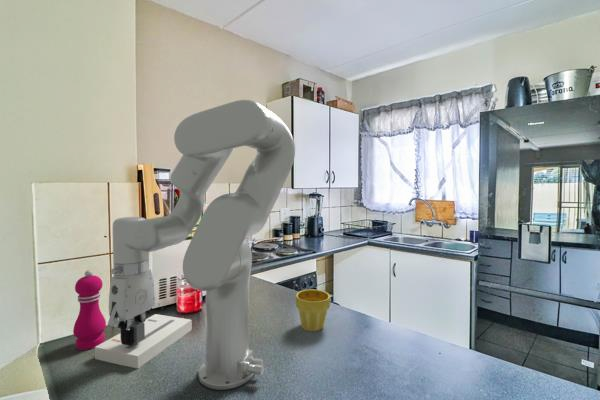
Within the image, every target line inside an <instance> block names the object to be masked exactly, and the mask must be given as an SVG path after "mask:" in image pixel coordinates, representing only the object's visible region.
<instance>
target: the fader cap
mask: <svg viewBox="0 0 600 400" xmlns="http://www.w3.org/2000/svg"><path fill="white" fill-rule="evenodd" d="M124 322H125V323H126V321H124ZM131 329H133V335H134V344H135V343H138V342H140V341H142V340H143V339H145V326H144V323H142V322H136V321H134V320H132V321H131ZM119 330H120V333H121V329H119ZM120 333H119V334H120Z"/></svg>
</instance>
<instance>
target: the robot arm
mask: <svg viewBox="0 0 600 400" xmlns="http://www.w3.org/2000/svg"><path fill="white" fill-rule="evenodd" d="M173 140H174V145H175V147H176V149H177V151H178V152H180V154H182V156H181V157H180V159H179V161H178V163H177V164H176V166H175V168H174V169H173V171H172V172H171V174H170V177H169V178H170V182H171V184H172V185H173V186H174V187H175V189H177V190H178V191H179V197H178V201H177V203H176V205H175V206H174V208H173V209H172V211H171V213H170V214H169V215H165V216H160V217H159V216H158V217H153V218H152V217H151V218H145V217H141V216H140V217H139V216H126V217H119V218H116V219H115V220H114V221H113V222H112V254H113V255H112V258H113V259H112V261H113V262H112V264H113V267H112V268H111V269H110V273H111V275H112V276H111V280H110V287H109V295H108V314H109V319H108V322H107V326H108V327H113V328H118V330H120V329H121V343H122V344H124V345H129V346H132V345H133V344H134V335H133V329H131V321H136V322H142V323H143V322H145V320H146V319H147V318H146V317H147V315H148V313H149V311H150V310H151V309H153V307H154V306H155V305H156V296H155V295H156V291H155V283H154V277H153V274H152V270H151V269H149V265H150V264H149V263H150V262H149V253H150V252H156V251H160V250H162V249H165V248H167V247H172V246H176V245H179V244H181V243H182V242H184V241H185V240H186V239H187V238H188V236H190V234H191V233H192V231H193V229H195V227H196V229H195V230H194V231H195V232H194V233H193V234H192V235H193V236H192V238H191V239H190V242H189V244H188V246H187V249H186V251H185V253H184V257H183V261H182V274H183V277H184V279H185V281H186V283H187V284H188V285H189V286H190V287H191V288H192V289H195V290H197V291H200V292H205V307H204V308H205V361H204V362H203V363H202V364H201V365H200V367H199V369H198V380H199V382H200V383H201V384H202V385H203V386H205V387H207V389H208V388H209V389H212V390H217V391H218V390H219V391H223V390H225V391H226V390H231V389H235V388H239V387H240V386H242V385H245V384H246V383H247V382H249V381H250V380H251V379H252V378H253V376H254V375H258V376H261V377H262V376H263V374H264V372H265V366H264V360H263V359H260V358H255V357H254V354H253V353H254V351H253V349H250V348H249V347H250V346H249V343H250V342H249V325H250V324H249V321H250V320H249V318H250V317H249V315H250V313H249V310H250V309H249V308H250V307H249V304H250V303H249V301H250V300H249V299H250V280H251V279H250V278H251V274H252V273H251V272H252V264H253V254H252V249H251V246H250V244H249V243H248V241H247V240H246V239H248V238H250V237H252V236H254V235H256V234H257V233H259V232H261V230H262V229H263V228H264V227H265V224H266V223H267V220H268V218H269V217H270V213H271V211H272V210H273V208H274V206H275V204H276V202H277V200H278V197H279V195H280V193H281V190H282V189H283V187H284V185H285V182H286V181H287V178H288V176H289V174H290V172H291V170H292V167H293V165H294V161H295V157H296V156H295V155H296V145H295V140H294V136H293V135H292V133H291V131H290V129H289V127H288V126H287V125H286V124H285V122H284V121H283V120H282V119H281V118H280V117H279V116H277V114H276V113H274V112H273V111H271V110H269V109H268V108H266V107H265V106H264V105H262V104H261V103H259V102H257V101H254V100H251V99H239V100H234V101H231V102H228V103H225V104H221V105H218V106H216V107H212V108H208V109H205V110H202V111H199V112H196V113H192V114H191V115H189V116H187V117H185V118H184V119H183V120H182V121H180V123H179V124H178V125H177V127H176V128H175V130H174V136H173ZM244 146H246V147H249V148H250V149H255V150H256V155H255V157H254V159H253V160H252V161H251V163H250V164H249V165H248V167H247V169H246V171H245V173H244V175H243V178H242V179H241V182H240V184H239V185H238V186H237V188H236V191H234V192H230V193H225V194H224V193H223V194H222V195H219V196H217V197H216V198H214V199H213V200H212V201H211V202H210V203H209V204H208V205H207V207H206V209H205V210H204V206H205V195H206V193H207V192H208V190H209V189H210V187H211V185H212V184H213V183H214V181H215V179H216V178H217V176H218V174H219V172H220V171H221V170H222V168H223V166H224V165H225V163H226V162H227V160H228V159H229V157H230V155H231V154H232V152H233V150H234V149H236V148H239V147H244ZM202 213H203V214H202ZM197 224H198V225H197ZM196 225H197V226H196ZM132 319H133V320H132ZM125 322H126V323H125Z"/></svg>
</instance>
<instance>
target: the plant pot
mask: <svg viewBox="0 0 600 400" xmlns="http://www.w3.org/2000/svg"><path fill="white" fill-rule="evenodd" d="M330 305H331V295H330V293H329V292H327V291H325V290H321V289H304V290H299V291H298V292H297V293H296V295H295V307H296V308H297V310H298V314H299V321H300V324H301V327H302V329H303V328H304V329H303V330H305V331H307V330H309V331H308V332H318V331H317V330H319V331H321V330H322V329H323V328H324V325H325V321H326V316H327V312H328V310H329V309H330ZM320 329H321V330H320Z"/></svg>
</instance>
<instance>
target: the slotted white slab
mask: <svg viewBox="0 0 600 400" xmlns="http://www.w3.org/2000/svg"><path fill="white" fill-rule="evenodd" d="M143 323H144V326H145V339H143V340H142V341H140V342H138V343H135V344H133V345H132V346H129V345H124V344H122V343H121V333H118V334H116V335H114V336H113V337H111V338H109V339H107V340H104V342H103V343H101V344H100V345H98V346H96V347H95V348H94V358H95V360H97V361H102V362H106V363H111V364H115V365H116V364H117V365H120V366H125V367H128V368H129V367H130V368H133V369H140V368H141V367H142V366H144V365H145V364H147V363H148V362H149V361H151V360H152V359H154V358H155V357H156V356H158V355H159V354H160V353H162V352H163V351H165V350H166V349H168V348H169V347H170V346H171V345H173V344H174V343H175V342H177V341H178V340H180V339H182V338H183V337H184V336H185V335H187V334H188V333H189V332H191V331H192V330H193V324H192V323H193V320H192V319H188V318H182V317H175V316H169V315H164V314H163V315H162V314H159V313H158V314H157V313H155V314H153V315H151V316H149V317H147V318H146V320H145V322H143Z"/></svg>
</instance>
